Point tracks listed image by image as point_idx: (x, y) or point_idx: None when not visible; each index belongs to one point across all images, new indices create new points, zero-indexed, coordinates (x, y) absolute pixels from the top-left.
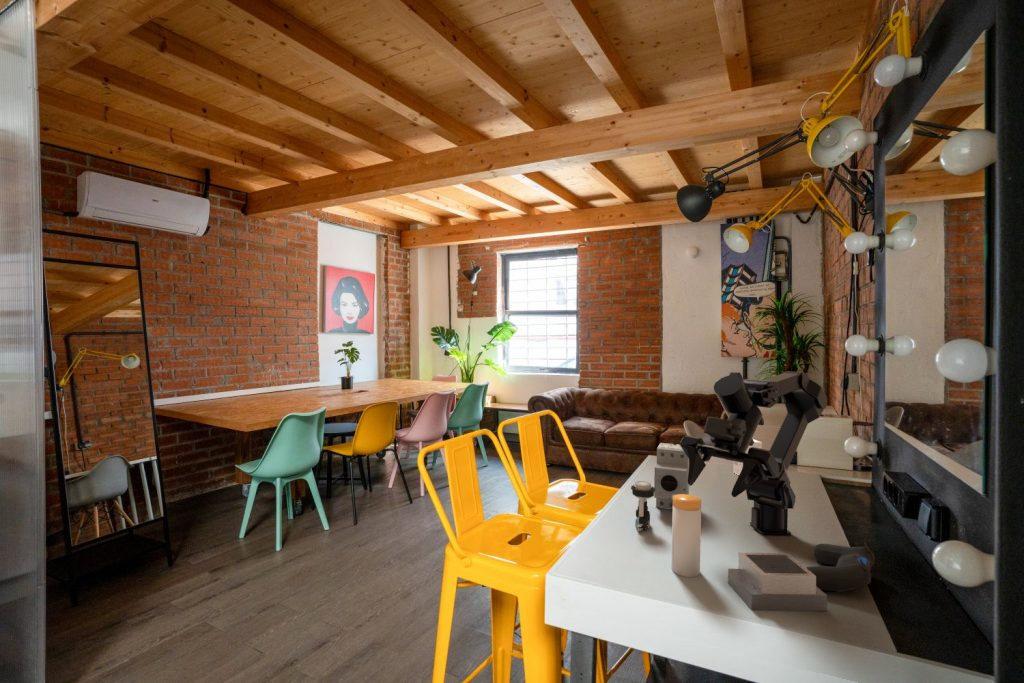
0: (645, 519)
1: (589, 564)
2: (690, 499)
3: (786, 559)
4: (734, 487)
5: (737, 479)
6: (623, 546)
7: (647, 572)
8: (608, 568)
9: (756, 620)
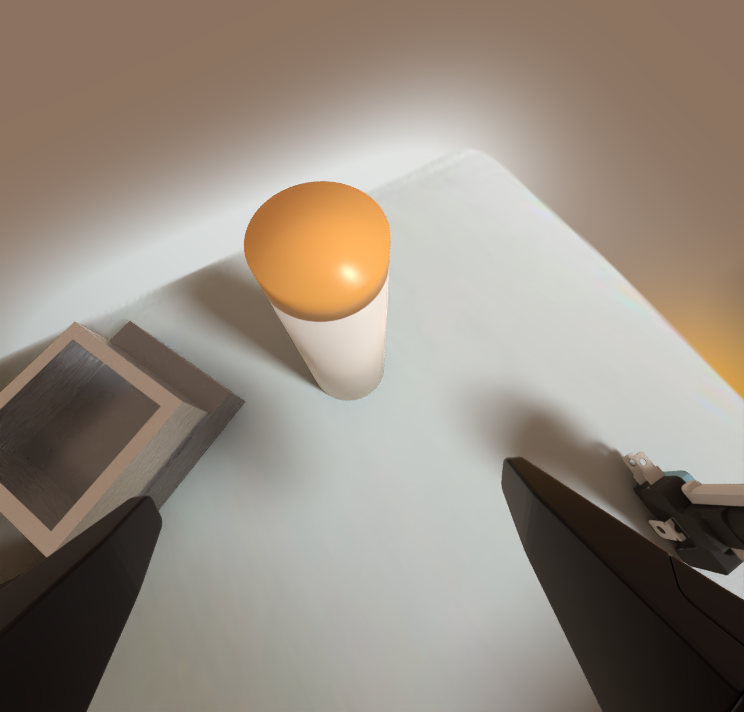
0: (664, 493)
1: (487, 213)
2: (295, 237)
3: (56, 524)
4: (99, 534)
5: (19, 609)
6: (544, 339)
7: (393, 285)
8: (451, 231)
9: (131, 311)
